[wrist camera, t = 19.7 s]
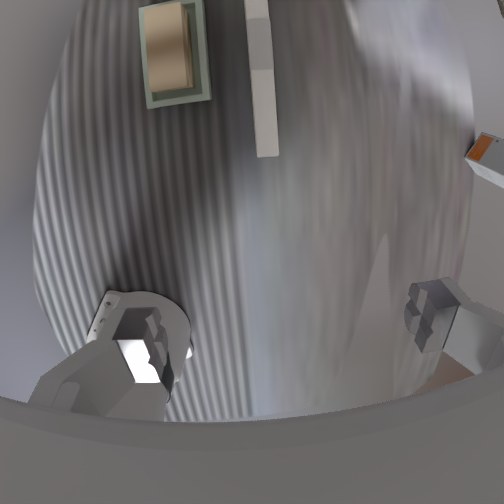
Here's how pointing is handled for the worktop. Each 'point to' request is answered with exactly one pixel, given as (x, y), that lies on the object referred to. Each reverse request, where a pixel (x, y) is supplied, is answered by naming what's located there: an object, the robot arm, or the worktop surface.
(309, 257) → the worktop surface
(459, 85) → the worktop surface
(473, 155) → the skincare box
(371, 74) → the worktop surface
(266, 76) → the door edge
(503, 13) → the long grey stone
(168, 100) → the pale green tray
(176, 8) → the bar
